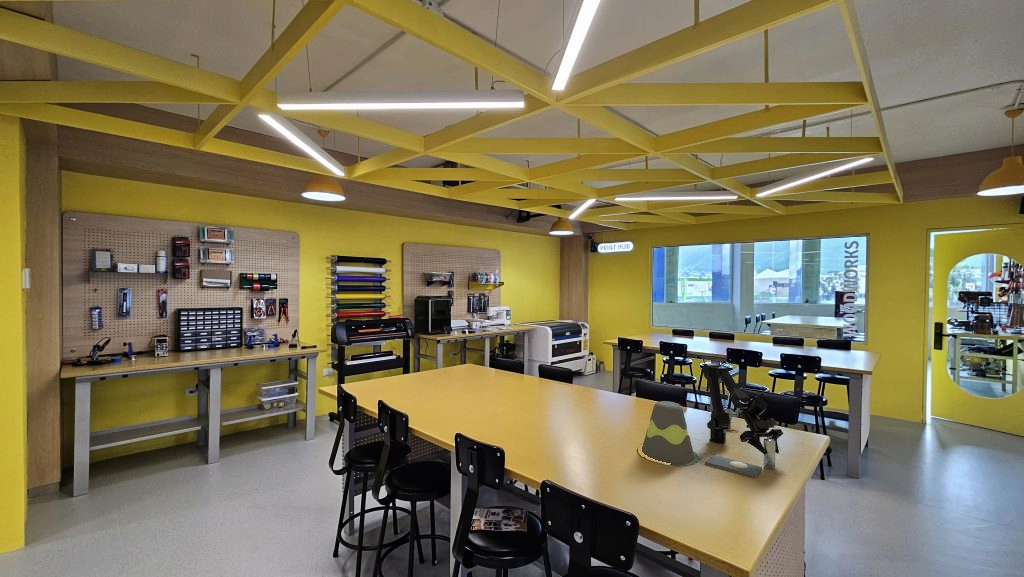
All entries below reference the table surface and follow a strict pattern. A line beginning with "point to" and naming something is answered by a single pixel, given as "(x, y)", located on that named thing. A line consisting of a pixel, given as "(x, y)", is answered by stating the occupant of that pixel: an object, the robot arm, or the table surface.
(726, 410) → the mechanical component
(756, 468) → the mat
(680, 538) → the table surface
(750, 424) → the robot arm
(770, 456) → the metal pin
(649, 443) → the grey tapered cylinder
